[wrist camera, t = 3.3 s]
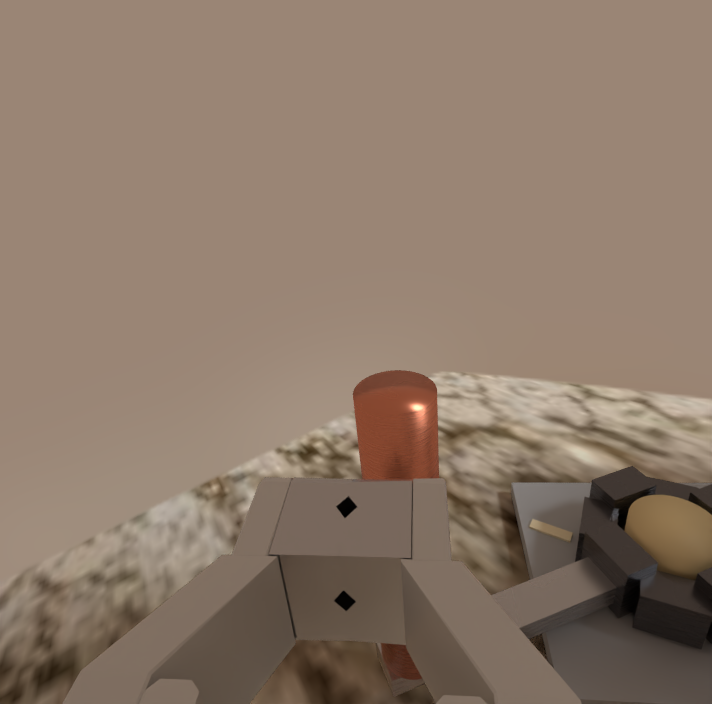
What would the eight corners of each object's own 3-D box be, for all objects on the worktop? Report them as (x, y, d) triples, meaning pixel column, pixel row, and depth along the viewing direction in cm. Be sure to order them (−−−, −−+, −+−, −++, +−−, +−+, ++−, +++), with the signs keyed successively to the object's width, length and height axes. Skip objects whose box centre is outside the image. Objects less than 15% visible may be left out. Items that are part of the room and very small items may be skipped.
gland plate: (730, 494, 34) (748, 439, 32) (903, 730, 22) (950, 666, 20) (511, 493, 36) (514, 441, 34) (558, 710, 24) (568, 650, 22)
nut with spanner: (661, 491, 33) (719, 252, 26) (807, 606, 26) (946, 315, 19) (355, 605, 28) (319, 347, 21) (427, 789, 21) (410, 487, 13)
